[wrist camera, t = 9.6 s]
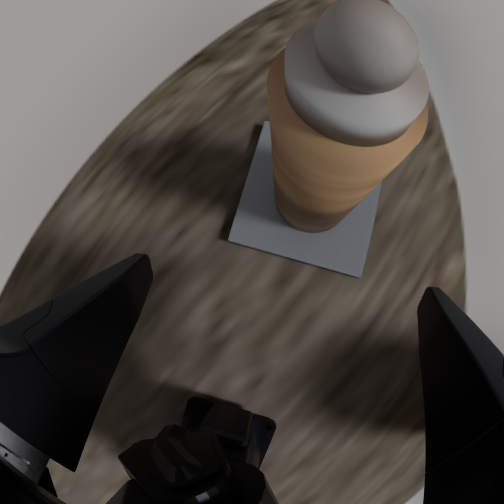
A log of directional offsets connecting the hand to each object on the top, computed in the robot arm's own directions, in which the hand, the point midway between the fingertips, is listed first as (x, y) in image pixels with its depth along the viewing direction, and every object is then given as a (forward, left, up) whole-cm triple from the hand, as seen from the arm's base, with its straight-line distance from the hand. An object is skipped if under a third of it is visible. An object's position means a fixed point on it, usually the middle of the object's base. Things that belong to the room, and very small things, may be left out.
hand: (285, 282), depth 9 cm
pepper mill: (+6, -1, -10) cm, 12 cm away
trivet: (+6, -1, -11) cm, 13 cm away
